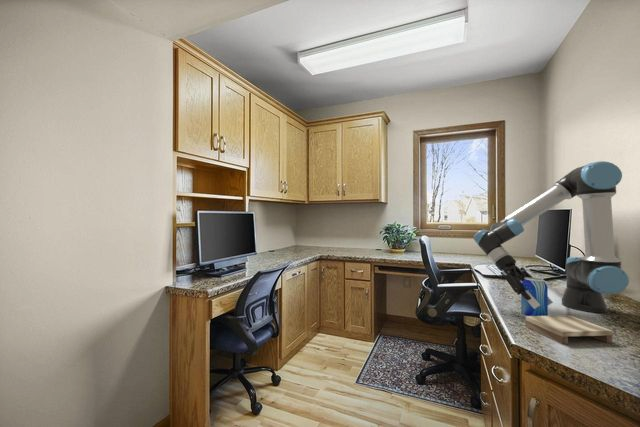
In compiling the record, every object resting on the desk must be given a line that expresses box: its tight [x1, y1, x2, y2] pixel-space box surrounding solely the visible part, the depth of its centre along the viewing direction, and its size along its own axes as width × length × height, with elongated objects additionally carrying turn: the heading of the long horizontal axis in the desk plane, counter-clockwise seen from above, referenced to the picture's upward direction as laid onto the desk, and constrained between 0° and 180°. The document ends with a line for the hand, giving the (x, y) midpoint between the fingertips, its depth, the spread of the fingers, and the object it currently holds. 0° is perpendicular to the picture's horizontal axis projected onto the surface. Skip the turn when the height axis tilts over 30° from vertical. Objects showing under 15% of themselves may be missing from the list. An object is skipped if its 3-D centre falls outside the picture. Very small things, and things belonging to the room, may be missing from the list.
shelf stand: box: [525, 314, 613, 345], centre depth 95 cm, size 18×14×4 cm
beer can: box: [520, 277, 549, 319], centre depth 110 cm, size 8×8×16 cm
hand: (543, 305), depth 107 cm, fingers closed on beer can, 8 cm apart
